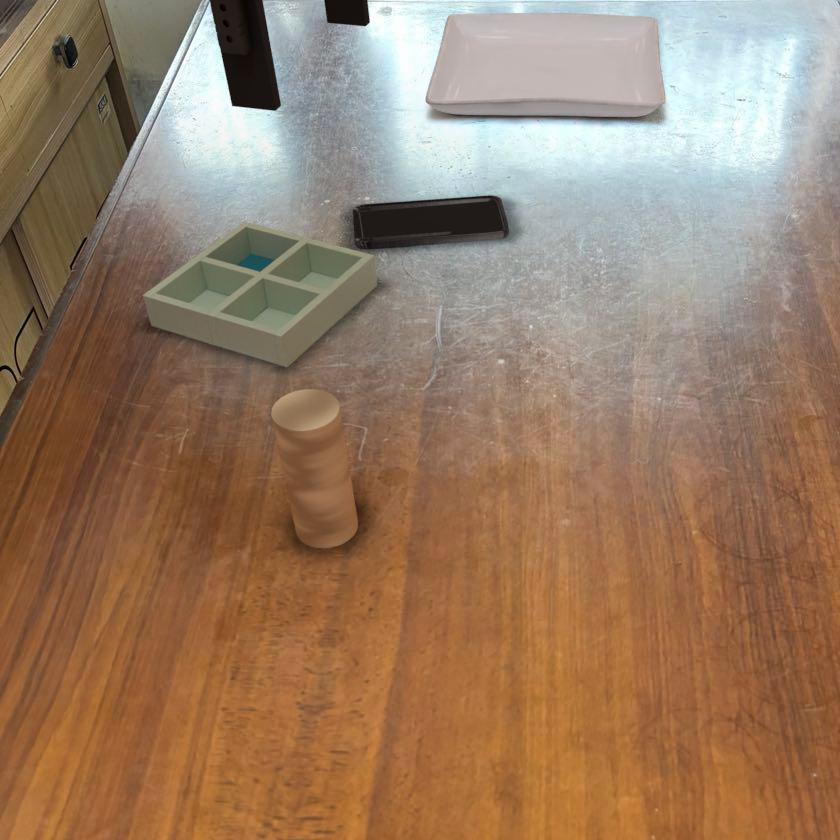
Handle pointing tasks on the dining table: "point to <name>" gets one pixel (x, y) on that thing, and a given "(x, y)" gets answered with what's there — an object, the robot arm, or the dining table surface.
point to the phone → (429, 222)
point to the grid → (262, 292)
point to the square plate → (548, 65)
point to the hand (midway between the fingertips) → (305, 62)
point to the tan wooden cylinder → (315, 467)
